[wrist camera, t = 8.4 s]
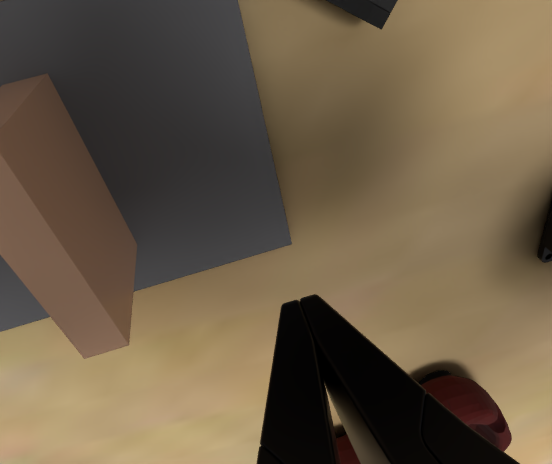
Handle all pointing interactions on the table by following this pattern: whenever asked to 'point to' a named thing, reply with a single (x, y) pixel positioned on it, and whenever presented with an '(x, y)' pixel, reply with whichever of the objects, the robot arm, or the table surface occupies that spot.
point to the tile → (62, 220)
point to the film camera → (368, 9)
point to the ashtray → (455, 411)
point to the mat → (155, 127)
